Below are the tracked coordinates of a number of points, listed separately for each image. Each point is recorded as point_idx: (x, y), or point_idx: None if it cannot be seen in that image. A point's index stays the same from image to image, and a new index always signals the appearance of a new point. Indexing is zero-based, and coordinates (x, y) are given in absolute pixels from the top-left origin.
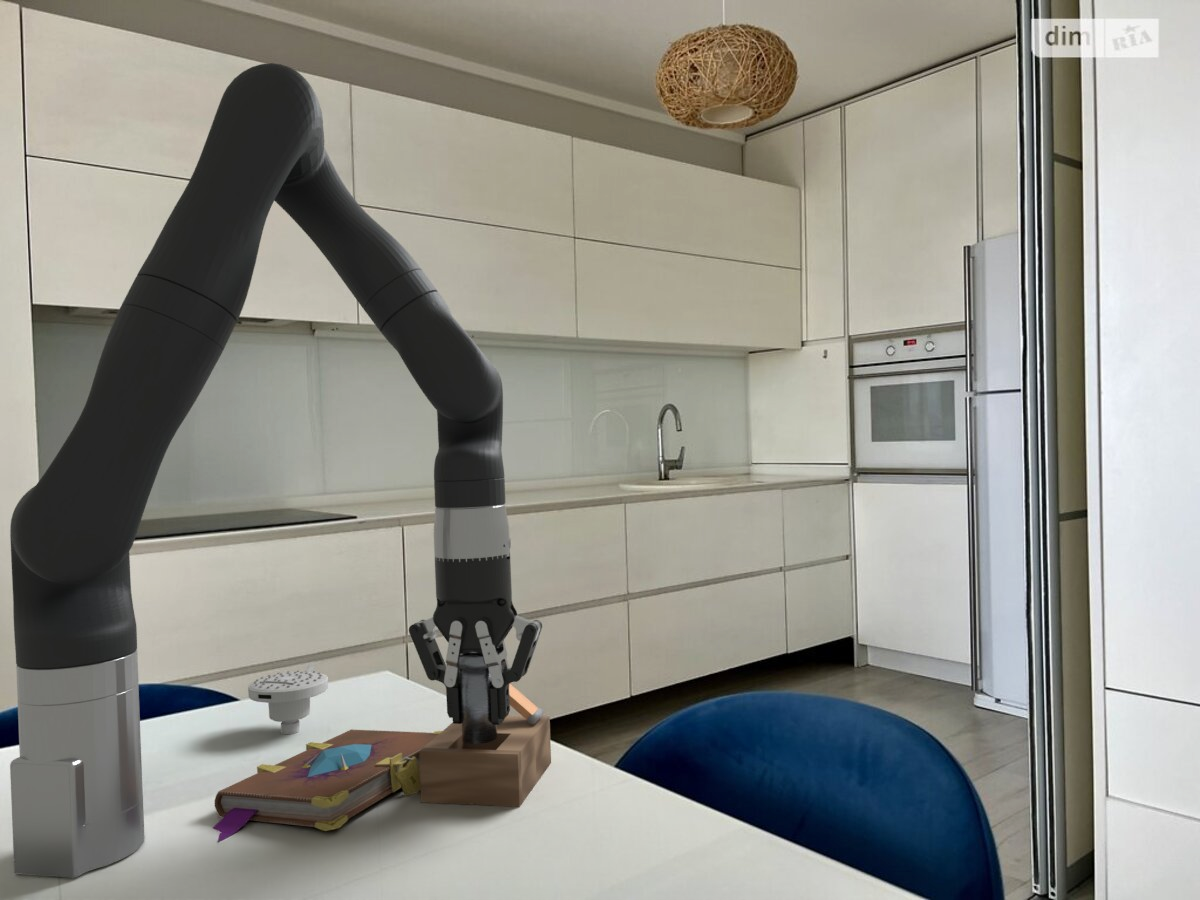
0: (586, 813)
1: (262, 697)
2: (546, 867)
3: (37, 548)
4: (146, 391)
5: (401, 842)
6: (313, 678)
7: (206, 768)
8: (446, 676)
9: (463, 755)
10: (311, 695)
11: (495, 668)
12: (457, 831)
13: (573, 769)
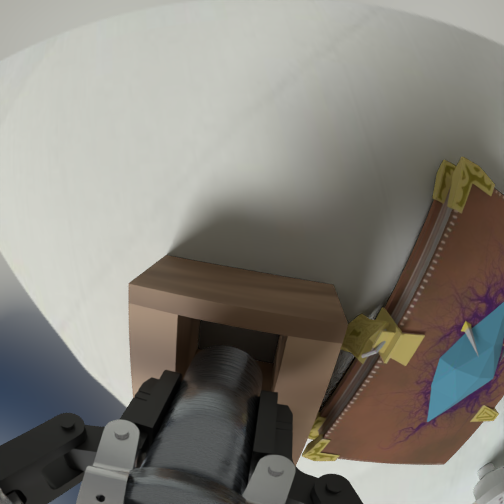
0: (78, 226)
1: None
2: (109, 63)
3: None
4: None
5: (331, 128)
6: None
7: None
8: (286, 480)
9: (246, 305)
10: (484, 496)
11: (110, 461)
12: (247, 164)
13: (127, 376)
